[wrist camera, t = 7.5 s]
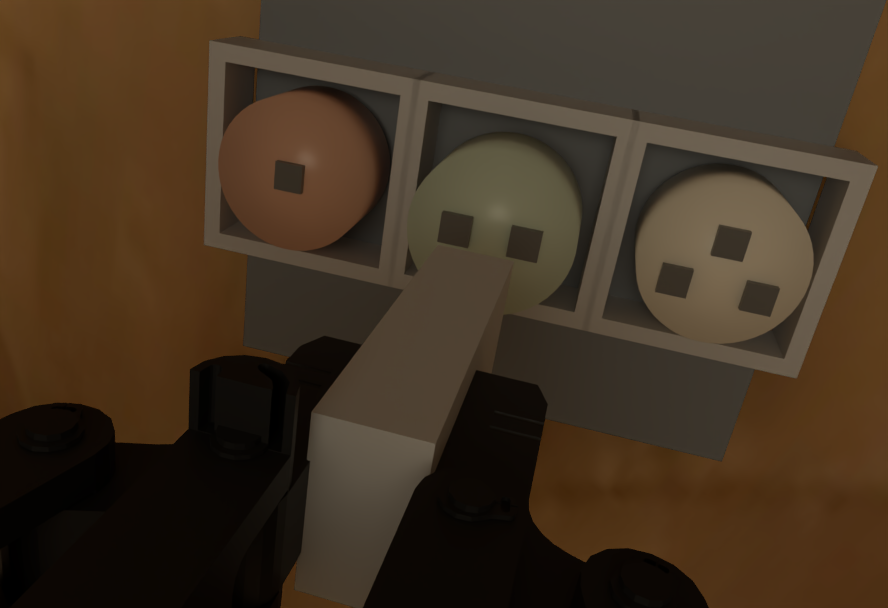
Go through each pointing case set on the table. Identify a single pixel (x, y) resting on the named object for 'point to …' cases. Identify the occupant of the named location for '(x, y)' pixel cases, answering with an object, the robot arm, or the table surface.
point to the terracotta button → (303, 166)
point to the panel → (589, 157)
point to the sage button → (502, 211)
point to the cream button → (721, 254)
